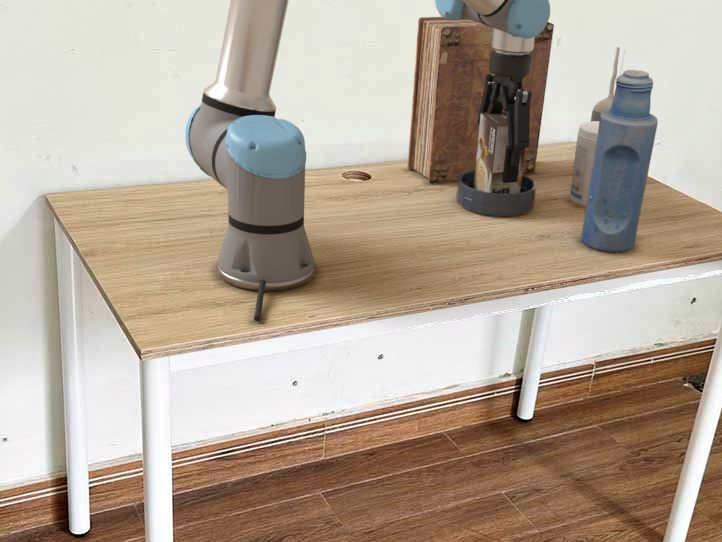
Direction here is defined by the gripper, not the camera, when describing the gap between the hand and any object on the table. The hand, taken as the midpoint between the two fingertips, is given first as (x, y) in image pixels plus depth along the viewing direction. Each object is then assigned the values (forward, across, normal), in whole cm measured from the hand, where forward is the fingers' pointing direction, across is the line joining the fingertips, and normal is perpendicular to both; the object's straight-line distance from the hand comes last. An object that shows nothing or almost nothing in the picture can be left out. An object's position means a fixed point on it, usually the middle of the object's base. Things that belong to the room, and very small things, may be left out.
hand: (497, 173), depth 200 cm
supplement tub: (+6, -3, -20) cm, 21 cm away
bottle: (+6, -23, -11) cm, 26 cm away
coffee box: (+6, 0, 0) cm, 6 cm away
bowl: (+6, 0, 0) cm, 6 cm away
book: (+6, +19, -4) cm, 21 cm away
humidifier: (+6, +16, -33) cm, 37 cm away
